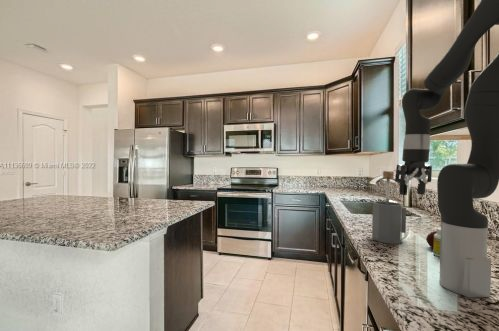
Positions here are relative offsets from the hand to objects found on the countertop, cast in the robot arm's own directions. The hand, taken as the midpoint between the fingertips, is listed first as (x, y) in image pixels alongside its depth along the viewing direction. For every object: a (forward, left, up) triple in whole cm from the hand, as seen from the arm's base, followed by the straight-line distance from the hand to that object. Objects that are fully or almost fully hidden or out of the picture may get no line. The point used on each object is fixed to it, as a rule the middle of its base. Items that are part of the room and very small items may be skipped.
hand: (412, 194), depth 83 cm
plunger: (+20, -5, -11) cm, 23 cm away
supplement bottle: (+2, -14, -23) cm, 27 cm away
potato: (+9, -19, -23) cm, 31 cm away
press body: (+20, -7, -23) cm, 31 cm away
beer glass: (+32, -16, -23) cm, 43 cm away
